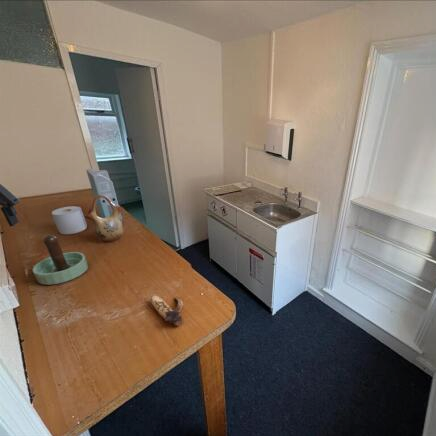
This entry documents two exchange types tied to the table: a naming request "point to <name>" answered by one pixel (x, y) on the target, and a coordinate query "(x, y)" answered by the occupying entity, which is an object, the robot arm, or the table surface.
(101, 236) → the ceramic vessel
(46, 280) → the bowl
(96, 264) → the table surface
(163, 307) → the bone fish hook
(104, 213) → the device
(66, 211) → the toilet paper roll
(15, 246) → the table surface
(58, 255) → the pestle
